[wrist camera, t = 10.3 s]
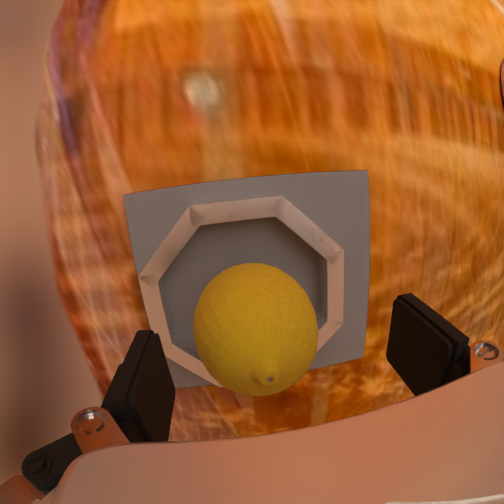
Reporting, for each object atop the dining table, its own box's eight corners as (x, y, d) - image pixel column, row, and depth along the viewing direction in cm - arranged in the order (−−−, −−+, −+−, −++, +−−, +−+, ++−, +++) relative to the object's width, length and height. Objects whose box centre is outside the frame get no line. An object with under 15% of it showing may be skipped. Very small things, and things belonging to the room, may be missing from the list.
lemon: (279, 338, 18) (317, 430, 11) (191, 327, 17) (182, 424, 10) (301, 254, 17) (366, 316, 9) (205, 237, 16) (197, 295, 8)
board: (360, 170, 17) (367, 170, 16) (357, 350, 21) (363, 357, 20) (128, 194, 16) (123, 195, 15) (170, 380, 19) (168, 388, 18)
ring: (331, 188, 16) (342, 190, 15) (332, 353, 19) (340, 366, 18) (133, 211, 15) (126, 215, 14) (172, 377, 18) (169, 391, 17)
